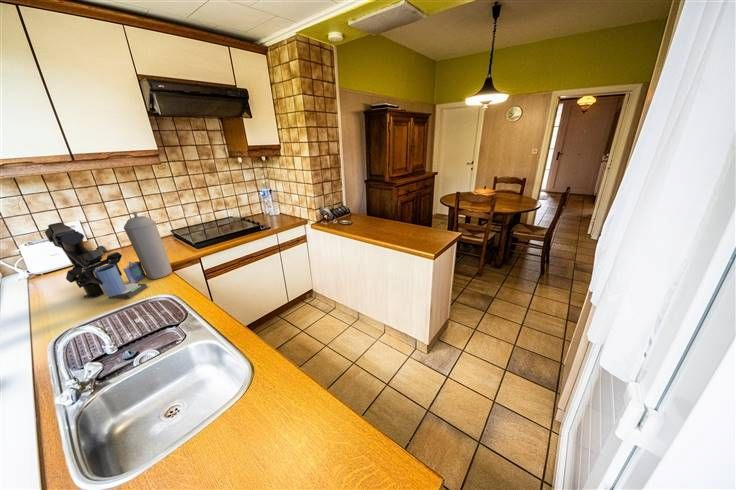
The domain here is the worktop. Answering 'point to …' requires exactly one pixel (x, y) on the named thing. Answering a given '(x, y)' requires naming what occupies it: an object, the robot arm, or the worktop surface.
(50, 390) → the worktop surface
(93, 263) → the robot arm
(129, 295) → the scale
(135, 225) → the canister
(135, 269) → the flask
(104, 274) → the blue cup
